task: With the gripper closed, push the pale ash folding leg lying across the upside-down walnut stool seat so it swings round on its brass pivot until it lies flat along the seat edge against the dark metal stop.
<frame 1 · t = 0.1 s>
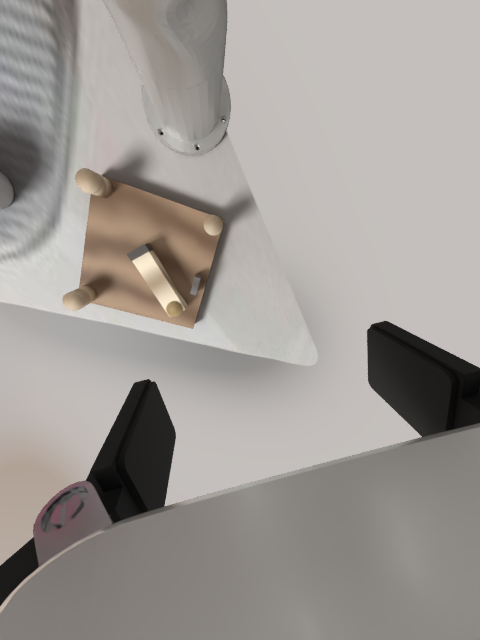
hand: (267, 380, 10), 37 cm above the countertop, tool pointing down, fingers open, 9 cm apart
stool seat: (152, 258, 43), on the countertop
folding leg: (160, 282, 40), point 4 cm above the countertop, hinge at 45.0°
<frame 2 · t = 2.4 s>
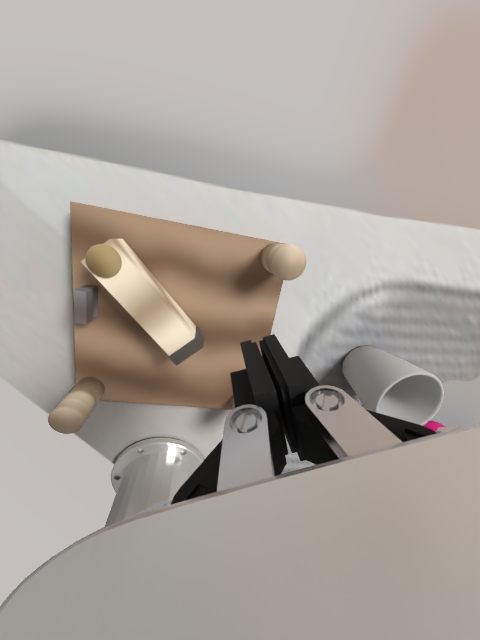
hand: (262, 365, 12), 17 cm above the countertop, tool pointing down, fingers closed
cup: (364, 368, 33), on the countertop
stool seat: (180, 318, 28), on the countertop
folding leg: (149, 302, 22), point 4 cm above the countertop, hinge at 45.0°
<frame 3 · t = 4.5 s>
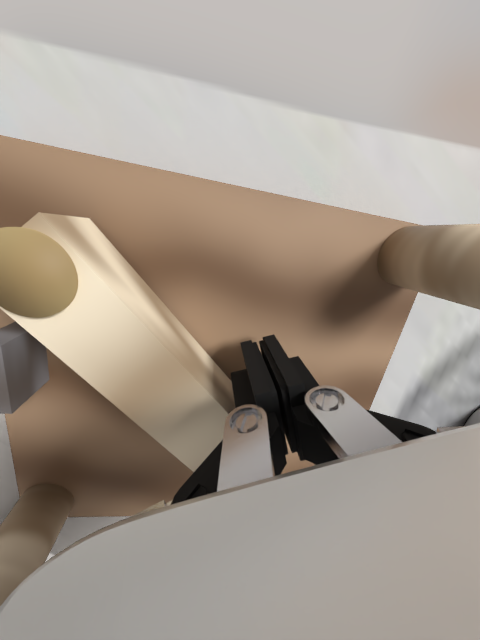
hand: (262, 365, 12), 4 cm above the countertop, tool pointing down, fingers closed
stool seat: (209, 366, 15), on the countertop
folding leg: (152, 361, 10), point 4 cm above the countertop, hinge at 44.3°, touching gripper
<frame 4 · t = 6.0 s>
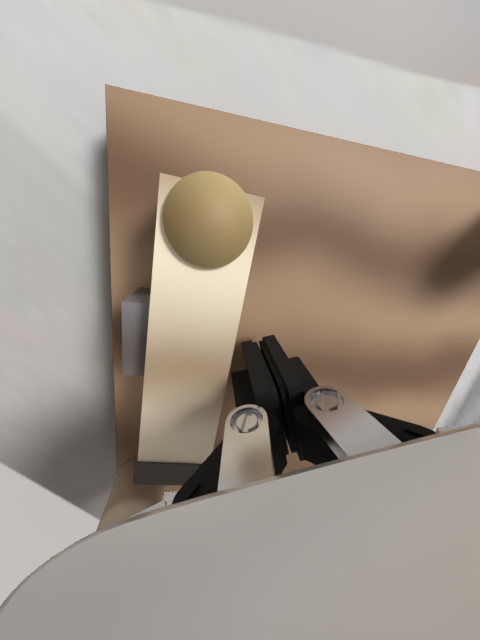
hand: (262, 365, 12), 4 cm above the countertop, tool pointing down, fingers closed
stool seat: (293, 340, 15), on the countertop
folding leg: (191, 344, 10), point 4 cm above the countertop, hinge at -2.8°, touching gripper, stool seat
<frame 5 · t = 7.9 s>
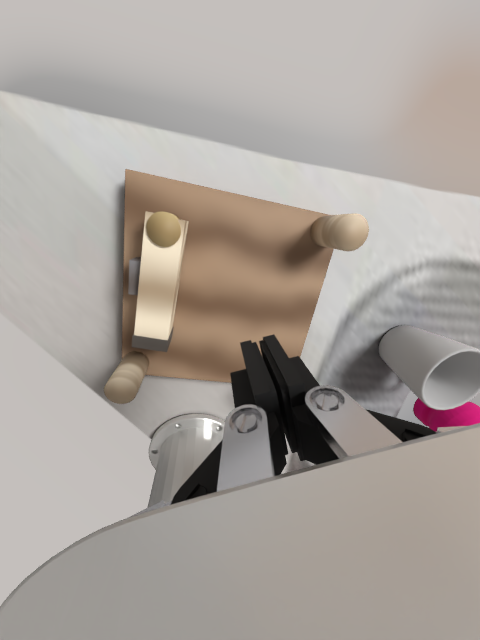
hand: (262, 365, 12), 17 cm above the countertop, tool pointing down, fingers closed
cup: (400, 348, 33), on the countertop
stool seat: (223, 294, 27), on the countertop
pepper mill: (430, 402, 38), on the countertop
folding leg: (160, 283, 22), point 4 cm above the countertop, hinge at -2.7°
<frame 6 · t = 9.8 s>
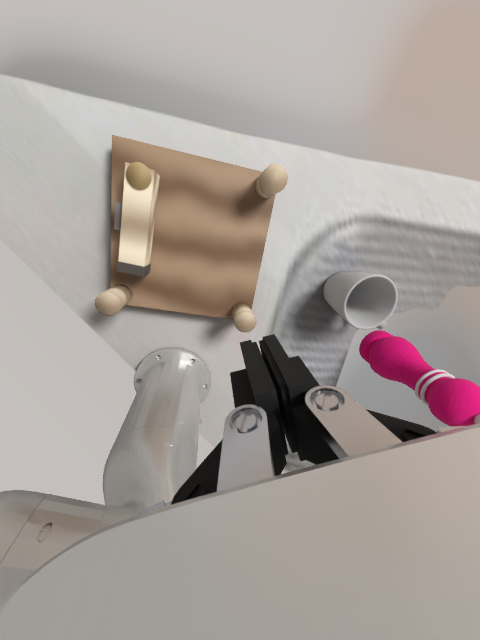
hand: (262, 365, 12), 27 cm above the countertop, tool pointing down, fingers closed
cup: (342, 293, 40), on the countertop
stool seat: (192, 241, 35), on the countertop
pepper mill: (374, 345, 45), on the countertop
folding leg: (138, 222, 29), point 4 cm above the countertop, hinge at -2.7°
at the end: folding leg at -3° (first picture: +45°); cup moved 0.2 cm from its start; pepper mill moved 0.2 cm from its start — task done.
